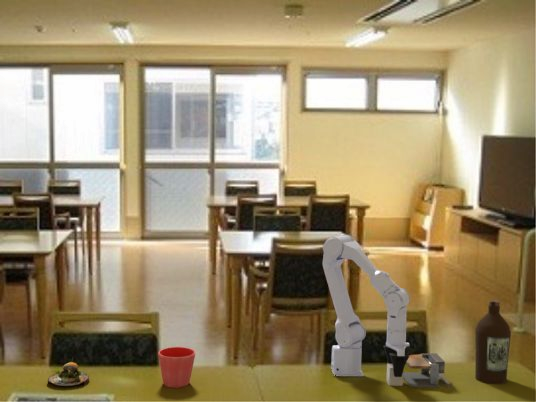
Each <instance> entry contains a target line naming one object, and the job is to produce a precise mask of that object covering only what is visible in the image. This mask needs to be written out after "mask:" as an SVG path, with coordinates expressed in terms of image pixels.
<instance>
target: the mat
mask: <svg viewBox="0 0 536 402" xmlns="http://www.w3.org/2000/svg"><path fill="white" fill-rule="evenodd" d="M403 380H405V382H406V384H408V387H410V388H440V384H438V385H430V384H429V382H430V373H429V374H421V371H420V372H418V371H417V372H414V371H413V372H412V371H407V372H406V371H405V372H404V371H403Z"/></svg>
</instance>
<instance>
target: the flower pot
mask: <svg viewBox="0 0 536 402" xmlns="http://www.w3.org/2000/svg"><path fill="white" fill-rule="evenodd" d="M157 356H158V361H159V367H160V372H161V377H162V383H163V385H164V386H165V387H168V388H182V387H186V386H188V385H189V384H190V382H191V378H192V374H193V373H192V372H193V368H194V363H195V362H194V361H195V359H196V358H195V357H196V351H195V350H194V349H192V348H190V347H183V346H173V347H166V348H162V349H160V350H159V351H158V355H157Z"/></svg>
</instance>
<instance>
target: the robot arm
mask: <svg viewBox="0 0 536 402" xmlns="http://www.w3.org/2000/svg"><path fill="white" fill-rule="evenodd" d="M322 251H323V255H322V257H323V258H322V268H323V272H324V275H325V279H326V282H327V285H328V289H329V293H330V296H331V297H330V298H331V300H332V303H333V307H334V310H335V313H336V317H337V318H336V321H335V324H334V328H335V334H334V335H335V336H334V337H335V341H336V342H337V345H335V344H334V345H332V346H331V362H330V370H331V369H332V370H331V372H332V374H334V375H333V376H334V377H364V372H363V370H362V346H363V342H362V341H363V340H364V339H365V338H366V332H367V331H366V328H365V327H364V324H362V322H361V319H360V318H359V316H358V315H356V313H354V308H353V306H352V302H351V298H350V295H349V291H348V289H347V285H346V281H345V278H344V275H343V270H342V264H343V263H344V260H350V261H353V263H355V264H356V265H357V266H358V267H359V268H360V269H361V270H362V271H363V272H364V273H365V274H366V275H367V276H368V277H369V283H370V285H371V286H372V288H374V289H375V290H376V291H377V293H378V294H379V295H380V296H381V297H382V299H383V301H384V302H383V303H384V305H385V307H386V309H387V314H386V316H387V323H386V342H385V345H383V348H384V351H385V354H386V358H387V364H393V372H394V376H395V377H402V374H403V372H404V369H405V366H406V364H407V363H406V362H407V360H408V358H409V356H410V355H409V354H405V351H406V348H407V347H410V343H409V342H406V341H407V311H408V310H407V308H408V307H407V306H408V305H409V304H410V302H411V296H410V294H409V292H408V290H406V289H405V288H401V287H400V285H399V284H396V283H395V282H394V280H393V279H392V278H391V277H390V276H391V275H390V273H389V272H387V271H385V270H379V269H378V268H377V267H376V266H375V264H374V263H373V262H372V261H371V260H370V258H369V257H368V256H367V255H366V253H365V252H364V251H363V250H362V248H361V247H360V245H359V242H357V241H356V240H355V239H354V238H353V237H352V236H351V235H349V234H342V235H339V236H338V235H337V236H331V237H328V238H327V239H326V240H325V242H324V244H323V245H322ZM335 375H336V376H335Z"/></svg>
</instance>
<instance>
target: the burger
mask: <svg viewBox="0 0 536 402" xmlns="http://www.w3.org/2000/svg"><path fill="white" fill-rule="evenodd" d="M71 358H72V359H71V360H73V357H71ZM89 382H90V376H89V374H88V373H86V372H82V371H81V370H79V365H78V364H77V363H76V362H73V361H70V362H68V363H65V364H64V365H63V366H62V370H61V371H59V370H57V371H56V370H55V373H54V374H52V375H50V376H49V377H48V378H47V383H48V384H49V383H52V384H53V385H56V386H61V387H69V386H76V385H80V384H83V385H84V386H87V384H89Z"/></svg>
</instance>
